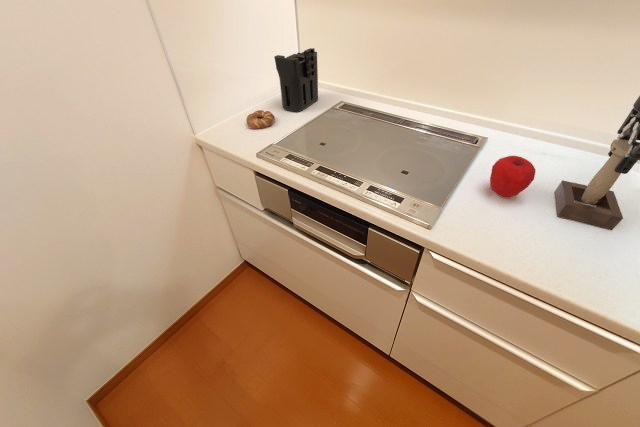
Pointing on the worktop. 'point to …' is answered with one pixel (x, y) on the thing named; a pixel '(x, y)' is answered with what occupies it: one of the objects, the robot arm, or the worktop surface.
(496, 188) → the apple
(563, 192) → the socket block
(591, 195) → the handle
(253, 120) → the brown bagel
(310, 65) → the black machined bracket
